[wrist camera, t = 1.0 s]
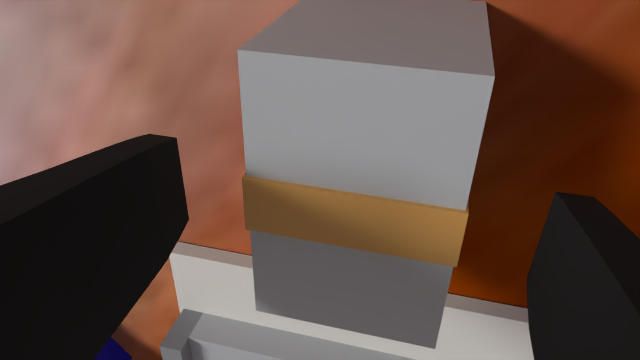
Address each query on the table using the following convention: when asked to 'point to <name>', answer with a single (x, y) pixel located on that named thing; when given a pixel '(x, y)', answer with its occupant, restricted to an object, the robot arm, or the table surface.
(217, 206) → the table surface
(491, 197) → the table surface
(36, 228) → the robot arm
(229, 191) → the table surface
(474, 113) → the block
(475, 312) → the rail board
